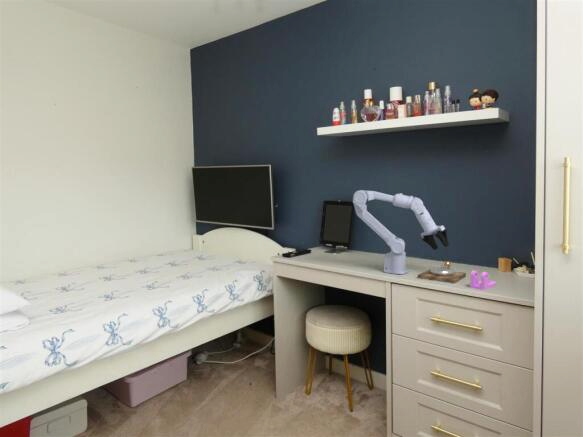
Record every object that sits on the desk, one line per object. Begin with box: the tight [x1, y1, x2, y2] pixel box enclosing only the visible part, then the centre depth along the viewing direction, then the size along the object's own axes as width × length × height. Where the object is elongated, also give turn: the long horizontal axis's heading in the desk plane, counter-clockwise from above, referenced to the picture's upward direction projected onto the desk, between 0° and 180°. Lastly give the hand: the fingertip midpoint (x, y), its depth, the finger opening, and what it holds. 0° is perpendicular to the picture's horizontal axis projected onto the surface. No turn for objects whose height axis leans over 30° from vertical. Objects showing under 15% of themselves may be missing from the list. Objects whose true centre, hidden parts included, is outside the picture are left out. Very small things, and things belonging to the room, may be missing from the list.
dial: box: [429, 261, 455, 276], centre depth 191 cm, size 13×10×4 cm
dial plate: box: [417, 268, 467, 284], centre depth 190 cm, size 16×16×2 cm
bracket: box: [469, 269, 497, 291], centre depth 174 cm, size 13×6×7 cm, turn 132°
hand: (441, 247), depth 194 cm, fingers open, 7 cm apart
